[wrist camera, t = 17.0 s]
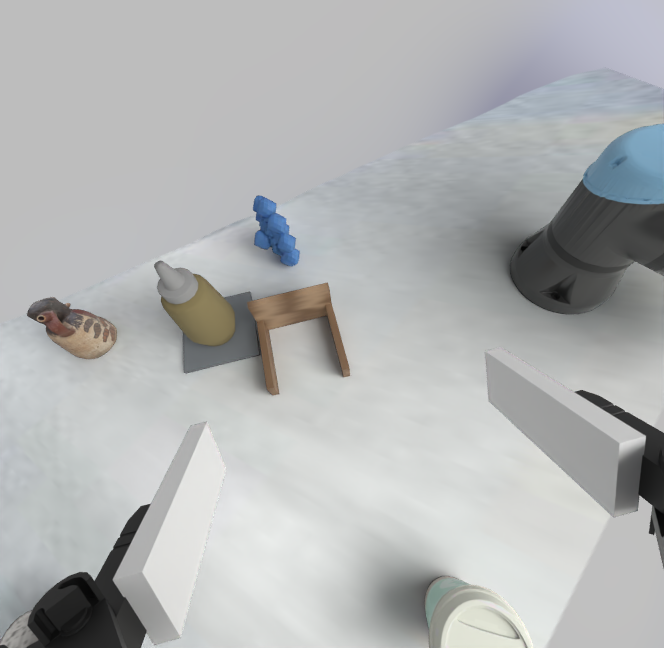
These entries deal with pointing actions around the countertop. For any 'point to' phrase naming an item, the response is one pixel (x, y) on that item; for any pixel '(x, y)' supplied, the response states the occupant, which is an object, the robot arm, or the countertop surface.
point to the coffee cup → (471, 617)
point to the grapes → (274, 232)
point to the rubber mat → (234, 349)
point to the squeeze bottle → (195, 306)
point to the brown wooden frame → (293, 322)
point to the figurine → (74, 328)
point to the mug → (19, 633)
